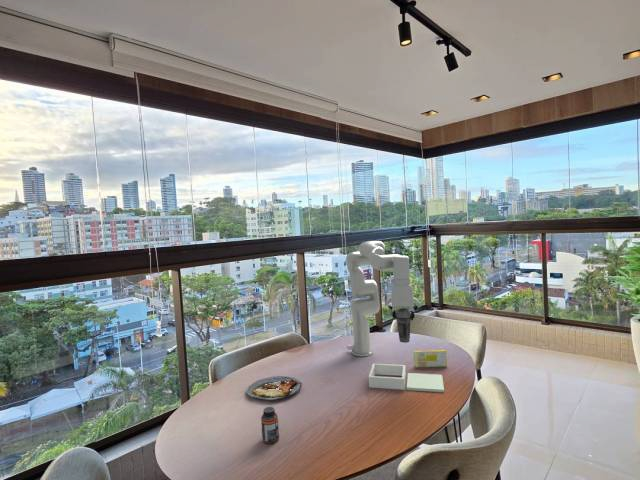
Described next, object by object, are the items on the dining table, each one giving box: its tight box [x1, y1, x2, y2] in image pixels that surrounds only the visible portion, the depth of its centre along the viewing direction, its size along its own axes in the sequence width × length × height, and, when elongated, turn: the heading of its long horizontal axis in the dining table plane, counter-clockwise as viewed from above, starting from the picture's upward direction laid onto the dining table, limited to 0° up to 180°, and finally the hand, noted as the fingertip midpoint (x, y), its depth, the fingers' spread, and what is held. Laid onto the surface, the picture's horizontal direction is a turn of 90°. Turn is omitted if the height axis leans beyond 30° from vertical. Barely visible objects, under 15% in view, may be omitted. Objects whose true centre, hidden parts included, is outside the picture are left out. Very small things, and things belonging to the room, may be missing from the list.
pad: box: [406, 372, 445, 393], centre depth 169 cm, size 16×16×1 cm
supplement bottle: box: [260, 406, 280, 445], centre depth 130 cm, size 6×6×11 cm
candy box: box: [413, 349, 448, 368], centre depth 188 cm, size 16×2×8 cm, turn 84°
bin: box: [368, 363, 407, 391], centre depth 173 cm, size 16×16×5 cm
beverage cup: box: [395, 307, 412, 344], centre depth 170 cm, size 7×7×20 cm
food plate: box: [246, 375, 302, 401], centre depth 170 cm, size 25×23×4 cm
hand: (403, 319), depth 170 cm, fingers closed on beverage cup, 7 cm apart
